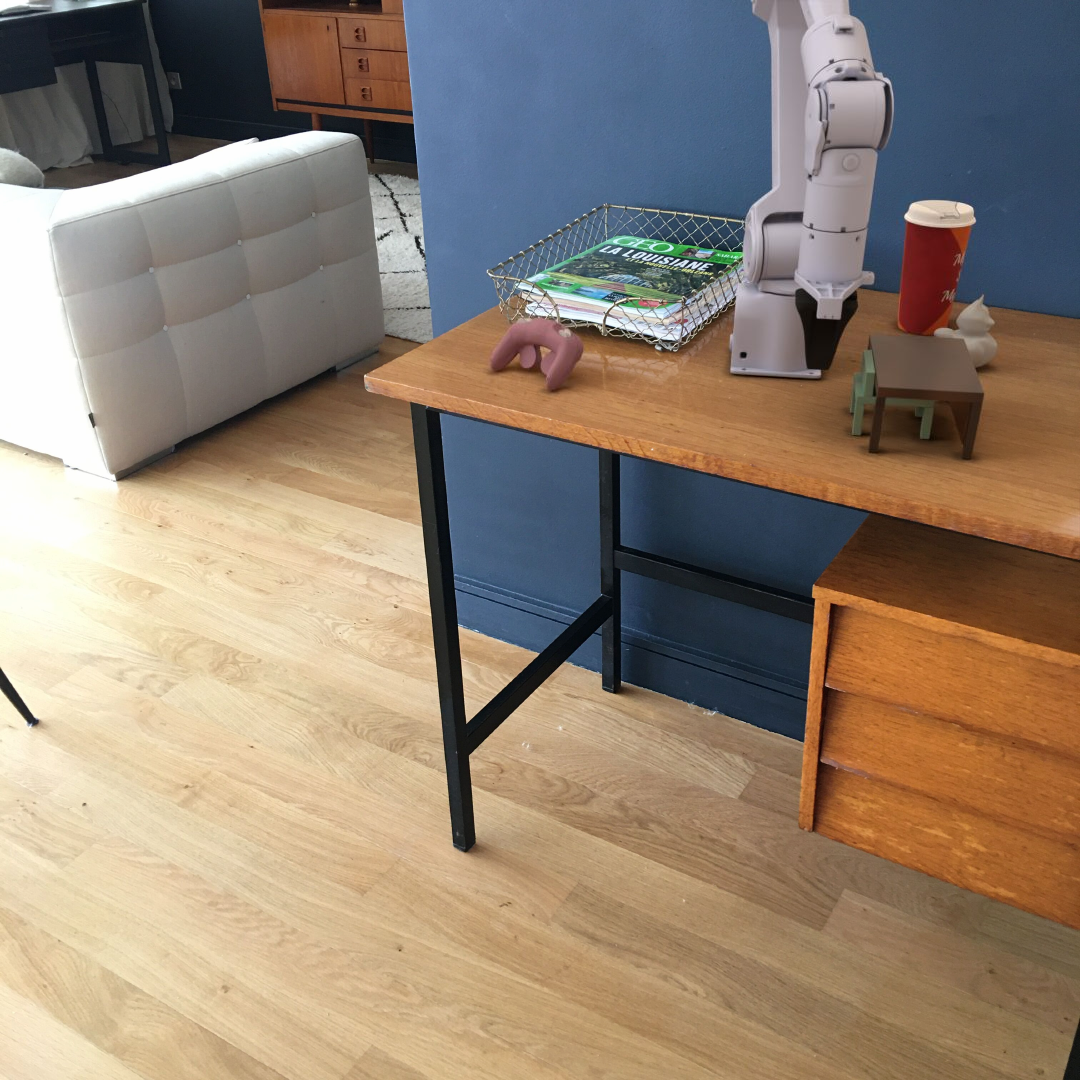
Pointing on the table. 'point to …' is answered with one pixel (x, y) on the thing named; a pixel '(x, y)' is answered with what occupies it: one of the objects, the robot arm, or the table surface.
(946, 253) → the paper cup
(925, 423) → the green seat
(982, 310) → the white sculpted figure
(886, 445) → the table surface
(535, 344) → the video game controller
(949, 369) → the desk
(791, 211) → the robot arm
